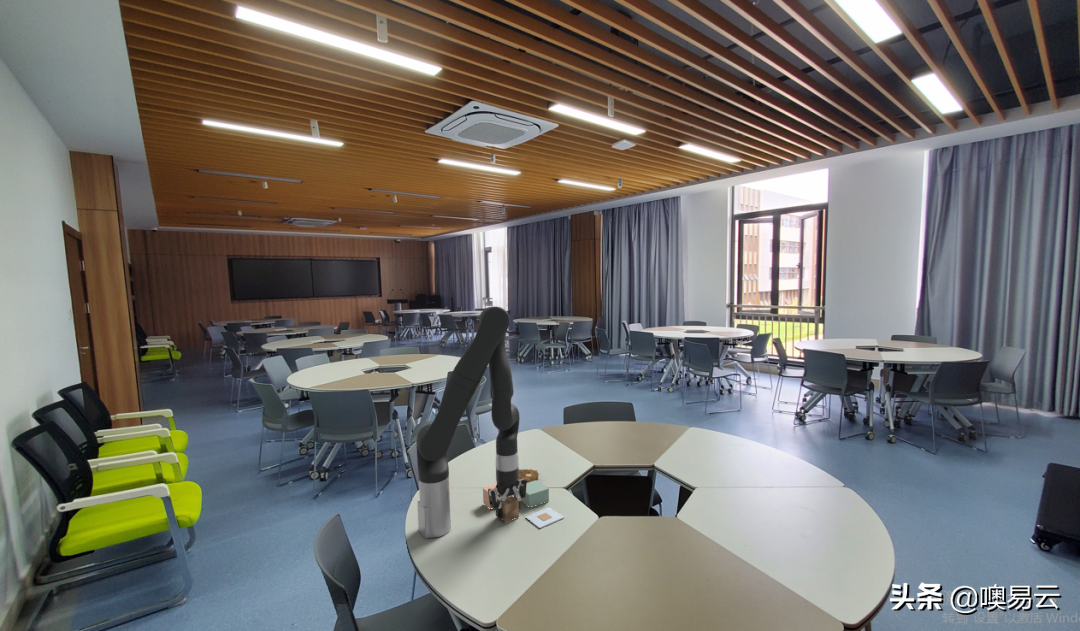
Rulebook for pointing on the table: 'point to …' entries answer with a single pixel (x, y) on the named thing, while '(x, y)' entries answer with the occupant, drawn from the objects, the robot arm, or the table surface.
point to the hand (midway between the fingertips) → (508, 514)
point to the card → (544, 517)
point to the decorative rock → (528, 475)
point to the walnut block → (510, 508)
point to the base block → (535, 493)
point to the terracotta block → (486, 496)
